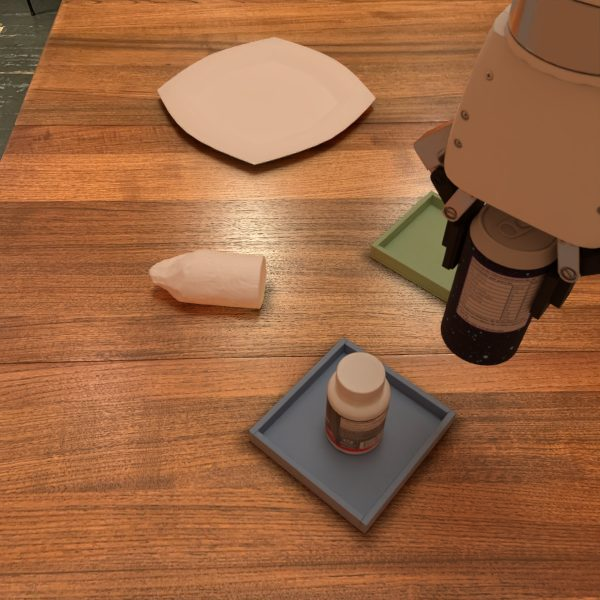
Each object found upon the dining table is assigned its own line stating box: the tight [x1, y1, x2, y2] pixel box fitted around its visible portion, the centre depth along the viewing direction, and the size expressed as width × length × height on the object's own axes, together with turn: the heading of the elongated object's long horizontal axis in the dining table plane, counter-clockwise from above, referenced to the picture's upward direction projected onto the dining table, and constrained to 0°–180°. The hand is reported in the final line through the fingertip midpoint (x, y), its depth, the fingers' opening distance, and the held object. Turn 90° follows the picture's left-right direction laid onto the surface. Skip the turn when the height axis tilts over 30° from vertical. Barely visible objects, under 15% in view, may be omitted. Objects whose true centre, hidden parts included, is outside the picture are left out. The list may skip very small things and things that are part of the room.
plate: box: [156, 36, 377, 166], centre depth 93 cm, size 27×27×2 cm
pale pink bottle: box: [148, 249, 267, 310], centre depth 69 cm, size 6×12×6 cm, turn 84°
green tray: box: [369, 190, 458, 303], centre depth 75 cm, size 12×12×2 cm
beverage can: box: [440, 202, 558, 367], centre depth 43 cm, size 6×6×12 cm
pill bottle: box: [325, 352, 391, 455], centre depth 57 cm, size 5×5×10 cm
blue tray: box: [248, 336, 457, 535], centre depth 60 cm, size 13×14×2 cm
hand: (500, 278), depth 43 cm, fingers closed on beverage can, 5 cm apart
